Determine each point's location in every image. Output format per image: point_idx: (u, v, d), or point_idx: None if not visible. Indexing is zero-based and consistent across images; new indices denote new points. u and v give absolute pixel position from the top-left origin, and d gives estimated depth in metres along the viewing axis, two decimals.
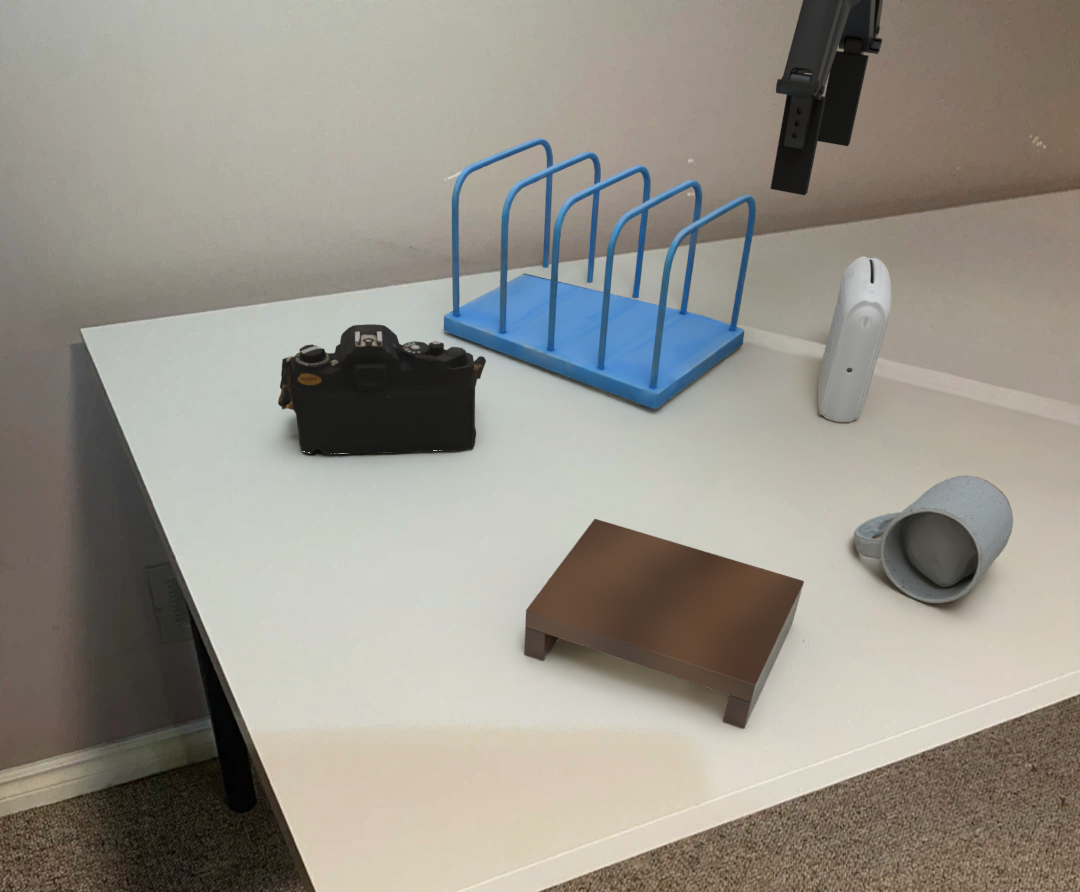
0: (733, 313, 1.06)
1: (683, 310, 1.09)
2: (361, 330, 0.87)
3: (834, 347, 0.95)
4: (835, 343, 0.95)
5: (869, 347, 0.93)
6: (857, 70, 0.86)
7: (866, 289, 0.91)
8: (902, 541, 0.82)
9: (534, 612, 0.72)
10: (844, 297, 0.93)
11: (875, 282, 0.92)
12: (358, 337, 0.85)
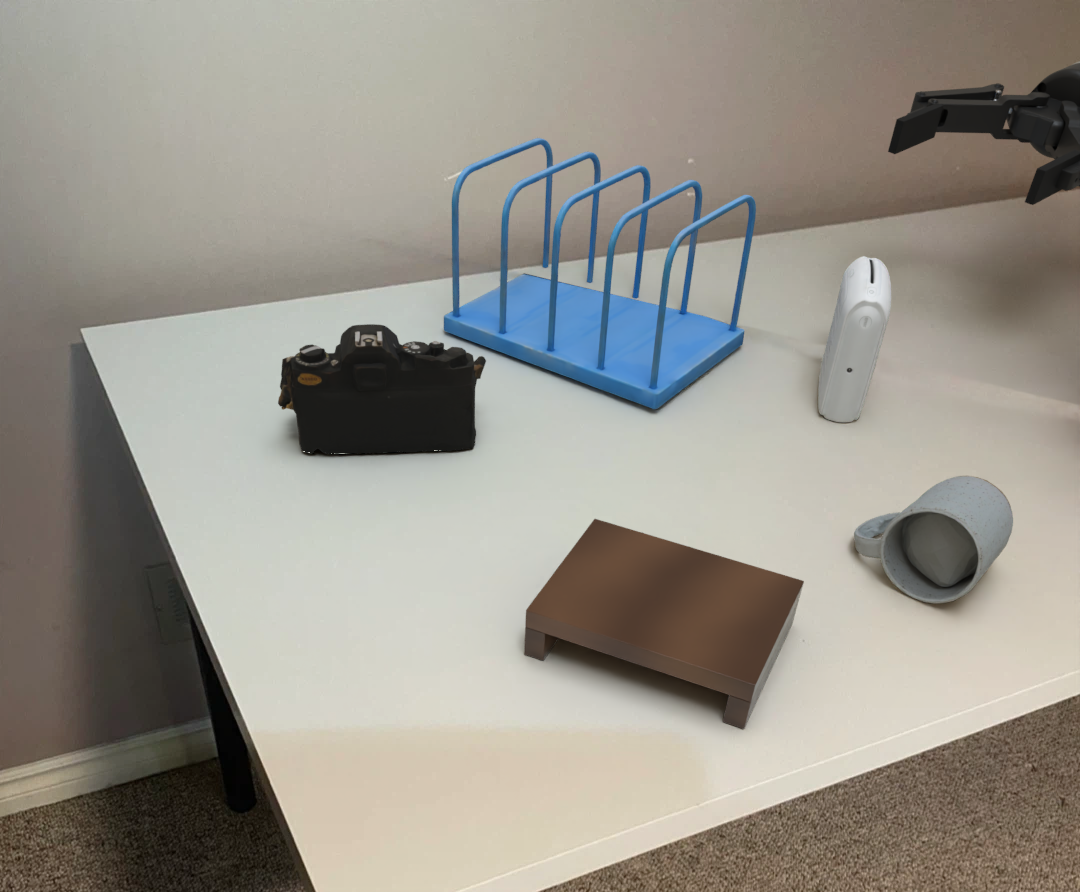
0: (733, 313, 1.06)
1: (683, 310, 1.09)
2: (361, 330, 0.87)
3: (834, 347, 0.95)
4: (835, 343, 0.95)
5: (869, 347, 0.93)
6: None
7: (866, 289, 0.91)
8: (902, 541, 0.82)
9: (534, 612, 0.72)
10: (844, 297, 0.93)
11: (875, 282, 0.92)
12: (358, 337, 0.85)
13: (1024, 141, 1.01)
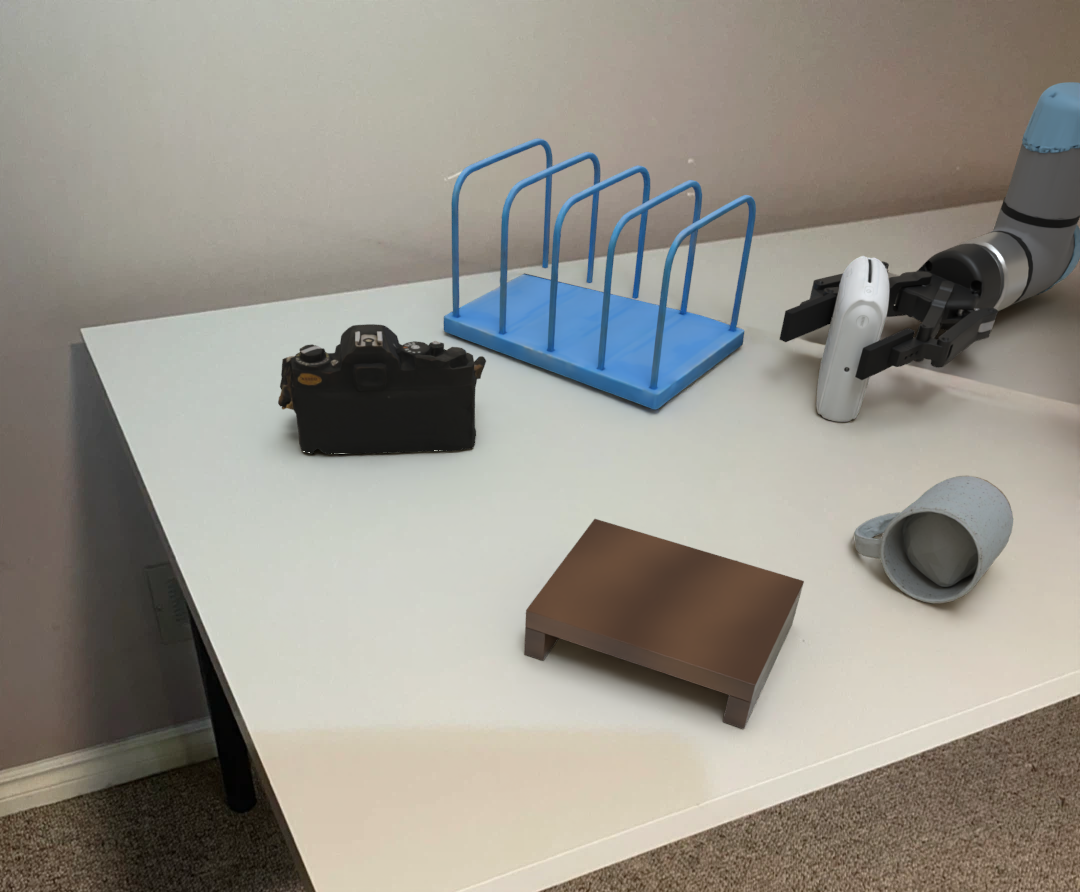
0: (733, 313, 1.06)
1: (683, 310, 1.09)
2: (361, 330, 0.87)
3: (832, 346, 0.95)
4: (833, 342, 0.95)
5: None
6: None
7: (863, 288, 0.91)
8: (902, 541, 0.82)
9: (534, 612, 0.72)
10: (842, 296, 0.93)
11: (872, 282, 0.92)
12: (358, 337, 0.85)
13: None
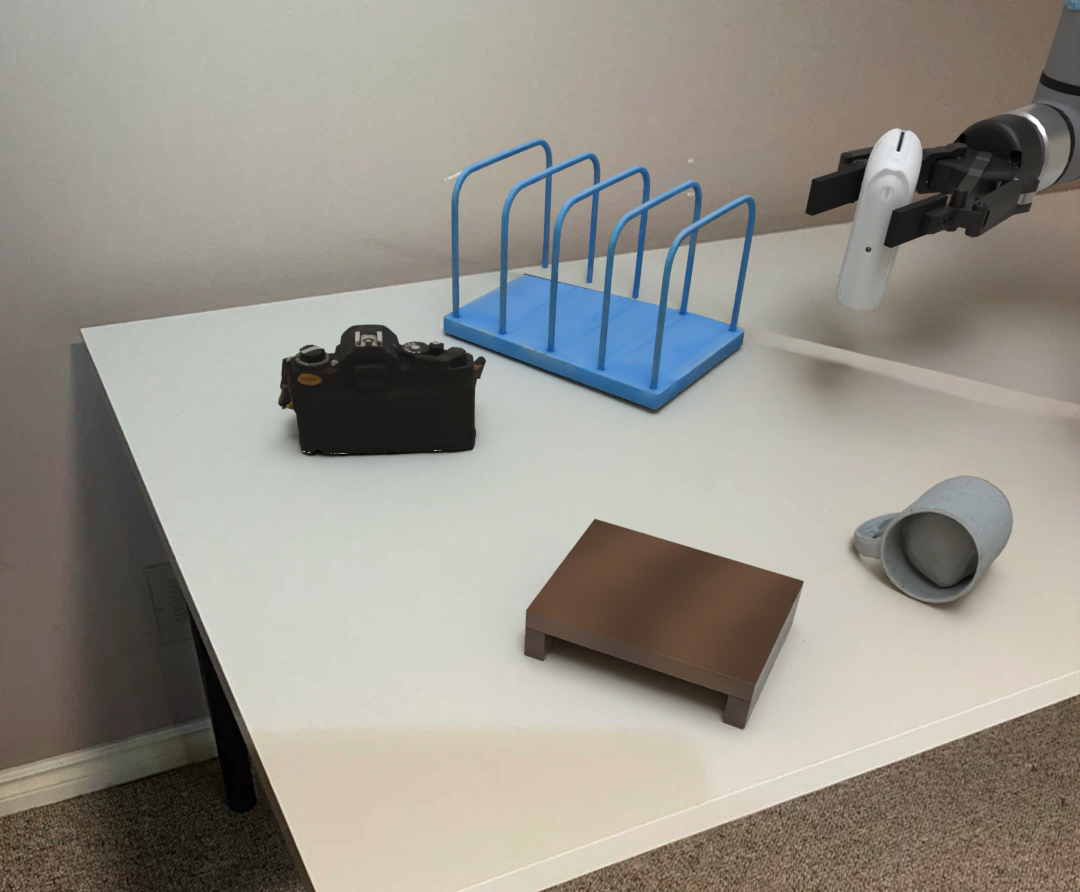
0: (733, 313, 1.06)
1: (683, 310, 1.09)
2: (361, 330, 0.87)
3: (853, 224, 0.88)
4: (855, 219, 0.88)
5: None
6: None
7: (890, 156, 0.84)
8: (902, 541, 0.82)
9: (534, 612, 0.72)
10: (867, 167, 0.86)
11: (901, 150, 0.84)
12: (358, 337, 0.85)
13: (946, 193, 0.96)
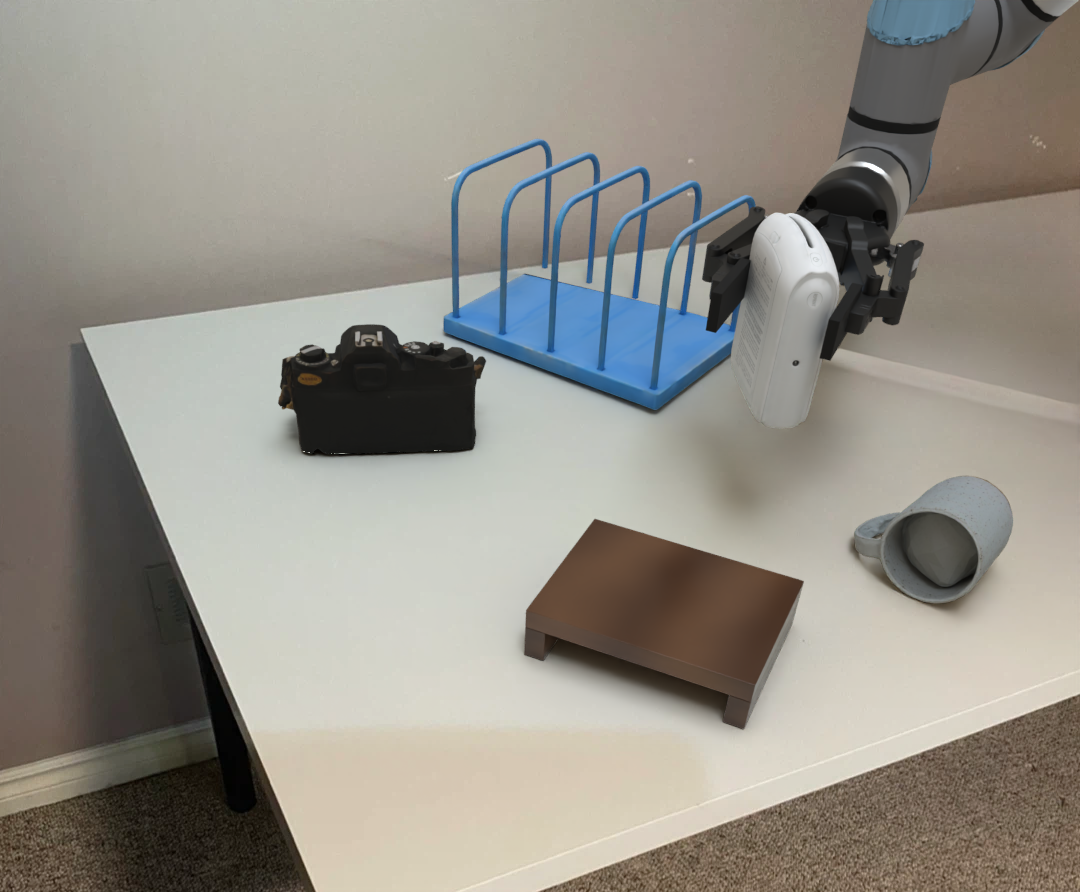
0: (733, 314, 1.06)
1: (683, 311, 1.09)
2: (361, 330, 0.87)
3: (772, 336, 0.73)
4: (773, 331, 0.73)
5: (819, 331, 0.72)
6: None
7: (809, 256, 0.70)
8: (902, 541, 0.82)
9: (534, 612, 0.72)
10: (777, 270, 0.71)
11: (815, 246, 0.70)
12: (358, 337, 0.85)
13: None
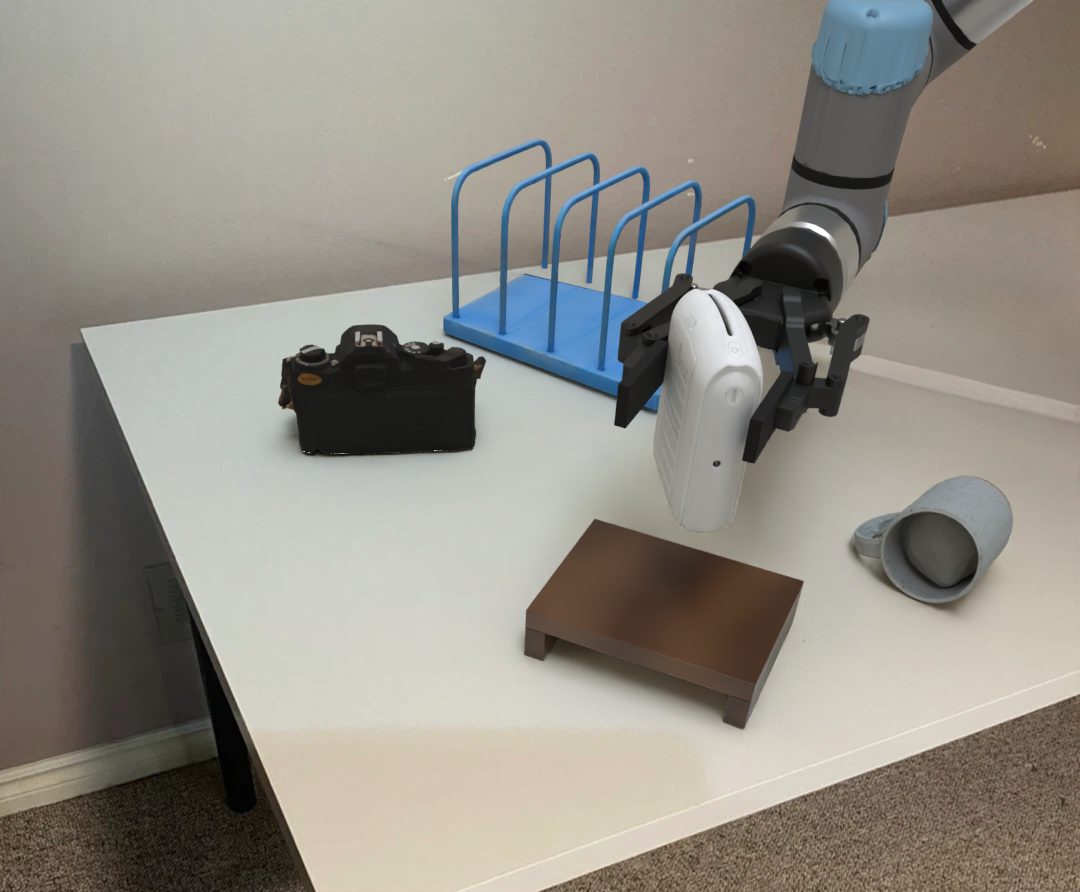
0: None
1: None
2: (361, 330, 0.87)
3: (689, 434, 0.63)
4: (690, 428, 0.63)
5: (742, 429, 0.62)
6: None
7: (726, 347, 0.60)
8: (902, 541, 0.82)
9: (534, 612, 0.72)
10: (692, 360, 0.62)
11: (734, 334, 0.61)
12: (358, 337, 0.85)
13: None
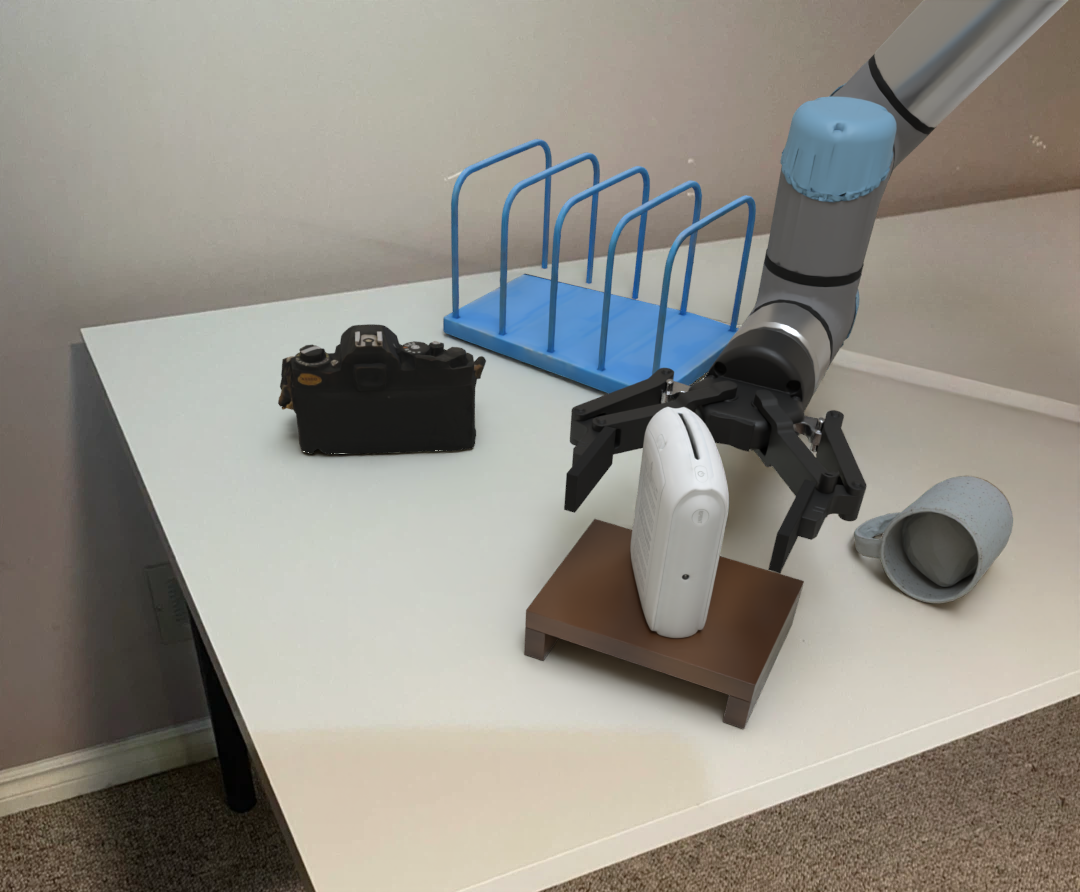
0: (733, 314, 1.06)
1: (683, 311, 1.09)
2: (361, 330, 0.87)
3: (659, 548, 0.66)
4: (659, 544, 0.66)
5: (709, 545, 0.65)
6: None
7: (693, 471, 0.63)
8: (902, 541, 0.82)
9: (534, 612, 0.72)
10: (661, 481, 0.64)
11: (701, 457, 0.63)
12: (358, 337, 0.85)
13: None
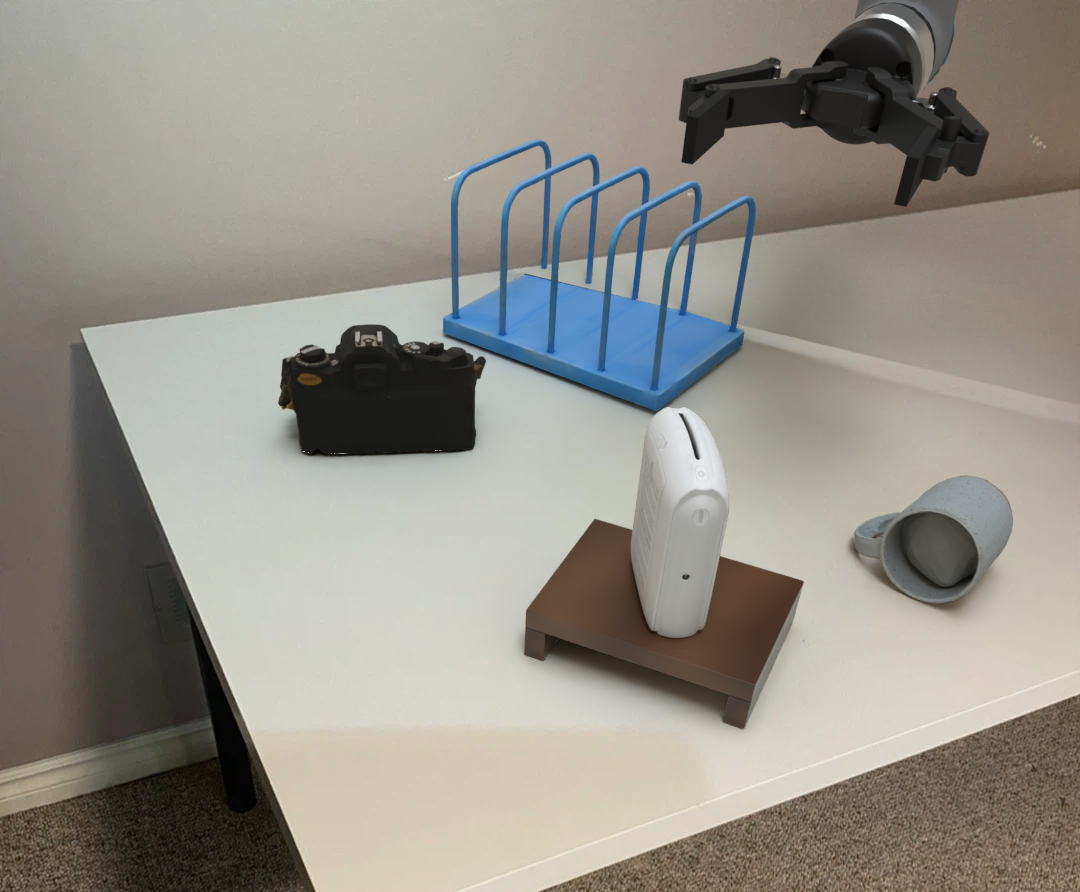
0: (733, 314, 1.06)
1: (683, 311, 1.09)
2: (361, 330, 0.87)
3: (659, 548, 0.66)
4: (660, 544, 0.66)
5: (709, 545, 0.65)
6: None
7: (693, 471, 0.63)
8: (902, 541, 0.82)
9: (534, 612, 0.72)
10: (662, 481, 0.64)
11: (702, 457, 0.63)
12: (358, 337, 0.85)
13: (826, 127, 0.76)
